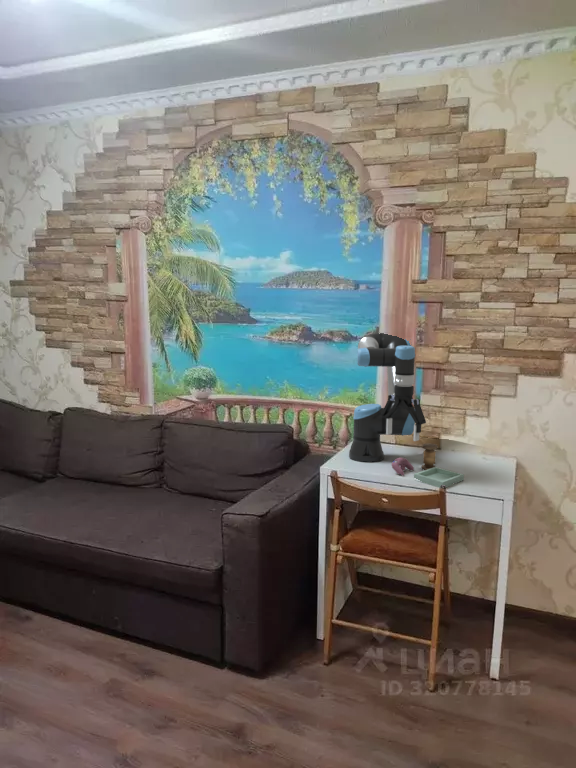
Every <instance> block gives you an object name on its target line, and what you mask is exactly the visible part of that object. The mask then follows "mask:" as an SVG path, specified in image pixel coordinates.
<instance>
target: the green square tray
mask: <svg viewBox="0 0 576 768" xmlns="http://www.w3.org/2000/svg"><path fill="white" fill-rule="evenodd" d="M464 476H465V474H463V473H459V472H455V471H453V470H449V469H445V468H441V467H437V466H436V467H433V468H430V469H427V470H422V471H419V472H416V473H414V474H413V479H414V478H416V479H418V480H420V481H422V482H421V483H423V484H427V485H429V486H433V487H436V488H440V486H441V485H445V486H446V487H445V488H447V487H450V486H453V485H454V484H453V483H456V482H458V483H460V482H459V481H461V482H463V481H462V480H464V479H465V477H464ZM452 484H453V485H452ZM456 484H457V483H456ZM440 489H441V488H440Z"/></svg>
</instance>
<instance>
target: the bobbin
mask: <svg viewBox="0 0 576 768" xmlns="http://www.w3.org/2000/svg"><path fill="white" fill-rule="evenodd" d="M421 447H422V449H424V450H423V457H422V458H423V459H422V460H423V461H422V463H423V464H422V465H421V468H422V469H424V470H427V469H430V468H433V467H437V466H436V465H435V464H436V455H437V454H436V453H437V452H436V450H437V449H438V444H435V443H423V444H422V445H421ZM422 469H421V470H422ZM424 470H423V471H424Z"/></svg>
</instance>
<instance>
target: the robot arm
mask: <svg viewBox="0 0 576 768" xmlns="http://www.w3.org/2000/svg"><path fill="white" fill-rule="evenodd" d="M379 333H380V334H379ZM384 333H385V332H372V333H369V334H366V335H365V336H363V337H361V338H360V339H359V341H358V344H357V355H356V356H357V358H356V359H357V360H356V361H357V366H359V367H365V368H366V367H386V370H387V371H386V372H387V393H388V394H387V401H386V403H385V406H384V407H382V406H381V404H378V403H368V404H367V403H366V404H361V405H359V406H356V407H355V409H354V411H353V418H352V419H353V439H352V443H351V445H350V449H349V451H348V457H349V458H350V459H351V460H353V459H354V461H356V460H359V461H358V462H362V461H369V462H368V463H373V462H372V461H375V462H381V461H382V460H383V459H384V456H385V453H384V450H383V445H382V443H381V435H383V436H411V435H413V442H417V441H420V433H422V425H423V424H426V423H427V421H426V417H425V415H424V413H423V409H422V406H421V400H420V399H419V398H416V399H415V398H413V396H414V392H415V391H414V390H415V387H414V384H415V360H416V359H415V358H416V348H415V346H413V345H412V344H411V345H410V343H409V341H407V340H406V339H405V340H404V339H402V338H399V337H397V336H392V335H388V334H384ZM370 461H371V462H370Z"/></svg>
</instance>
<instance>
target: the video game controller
mask: <svg viewBox="0 0 576 768" xmlns="http://www.w3.org/2000/svg"><path fill="white" fill-rule="evenodd" d="M391 468H392V469H393V470H394V471H395V472H396V473H397V475H399V474H401V475H403V476H404V475H405V472H404V471H403V470H405V471H406V469H407V470H408V469H409V471H410V470H413V471H414V470H415V469H414V468H415V467H414V465H412V463H411V462H410V461H409V460H408V459H407V458H406V457H397V458H395V459H394V460H393V461H392V462H391Z"/></svg>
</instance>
